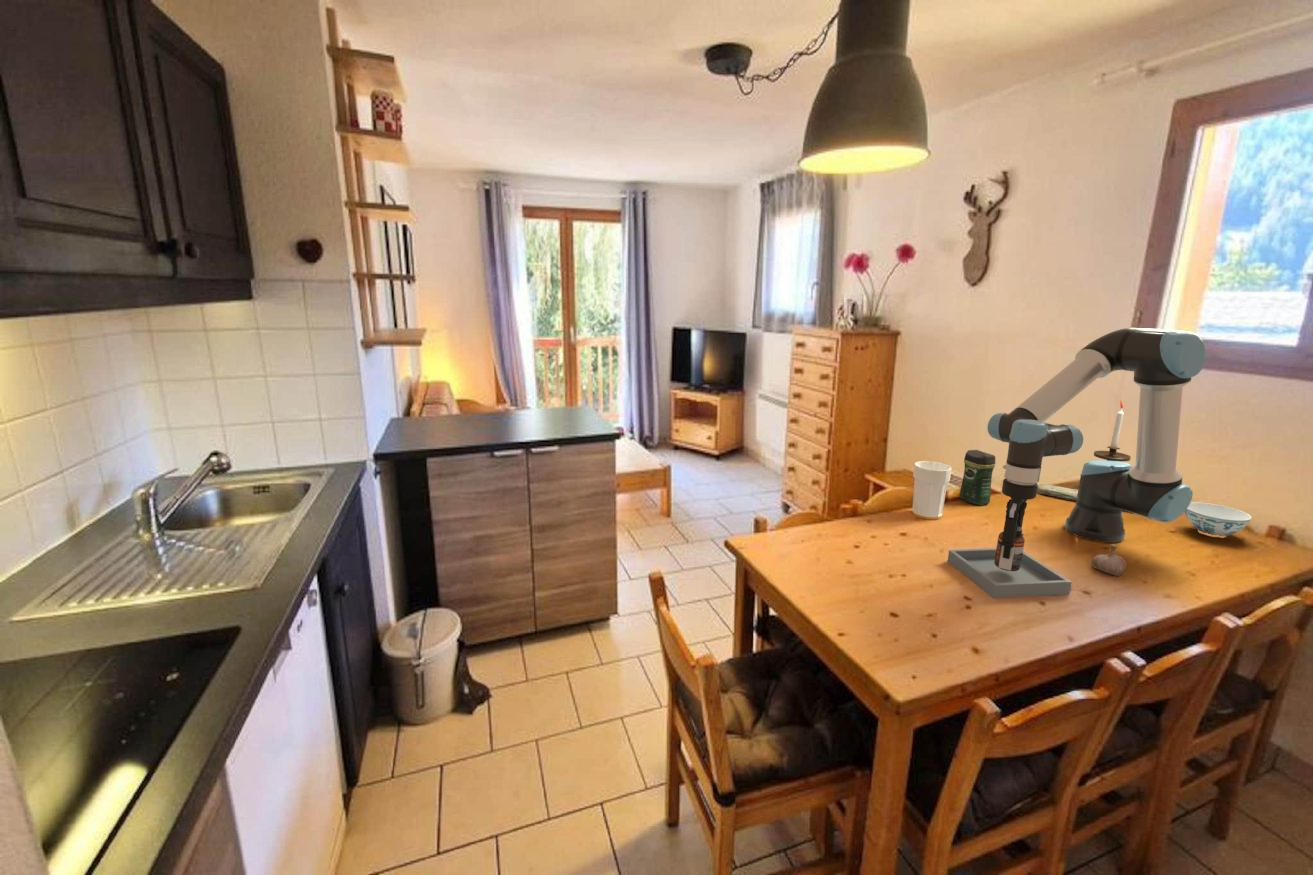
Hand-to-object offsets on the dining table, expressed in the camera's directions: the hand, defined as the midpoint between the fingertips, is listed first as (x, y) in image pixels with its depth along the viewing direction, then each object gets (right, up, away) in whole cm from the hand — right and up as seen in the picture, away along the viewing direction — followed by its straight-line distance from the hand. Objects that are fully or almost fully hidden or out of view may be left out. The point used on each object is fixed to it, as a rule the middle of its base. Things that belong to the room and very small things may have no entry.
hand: (1007, 563), depth 153 cm
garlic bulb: (+30, -3, +4) cm, 30 cm away
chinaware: (+81, +3, +28) cm, 86 cm away
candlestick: (+77, +13, +67) cm, 103 cm away
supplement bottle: (0, -1, 0) cm, 1 cm away
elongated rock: (+64, +10, +56) cm, 86 cm away
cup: (-1, +7, +44) cm, 44 cm away
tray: (0, -4, +1) cm, 4 cm away
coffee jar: (+22, +10, +56) cm, 61 cm away
